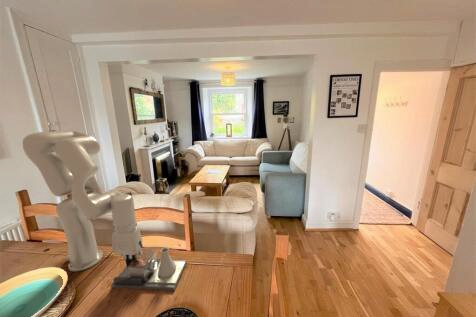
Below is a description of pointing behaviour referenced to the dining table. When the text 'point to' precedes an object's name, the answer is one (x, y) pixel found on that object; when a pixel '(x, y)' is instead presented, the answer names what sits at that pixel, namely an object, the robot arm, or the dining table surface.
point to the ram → (143, 264)
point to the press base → (150, 279)
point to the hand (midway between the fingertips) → (131, 265)
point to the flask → (166, 264)
